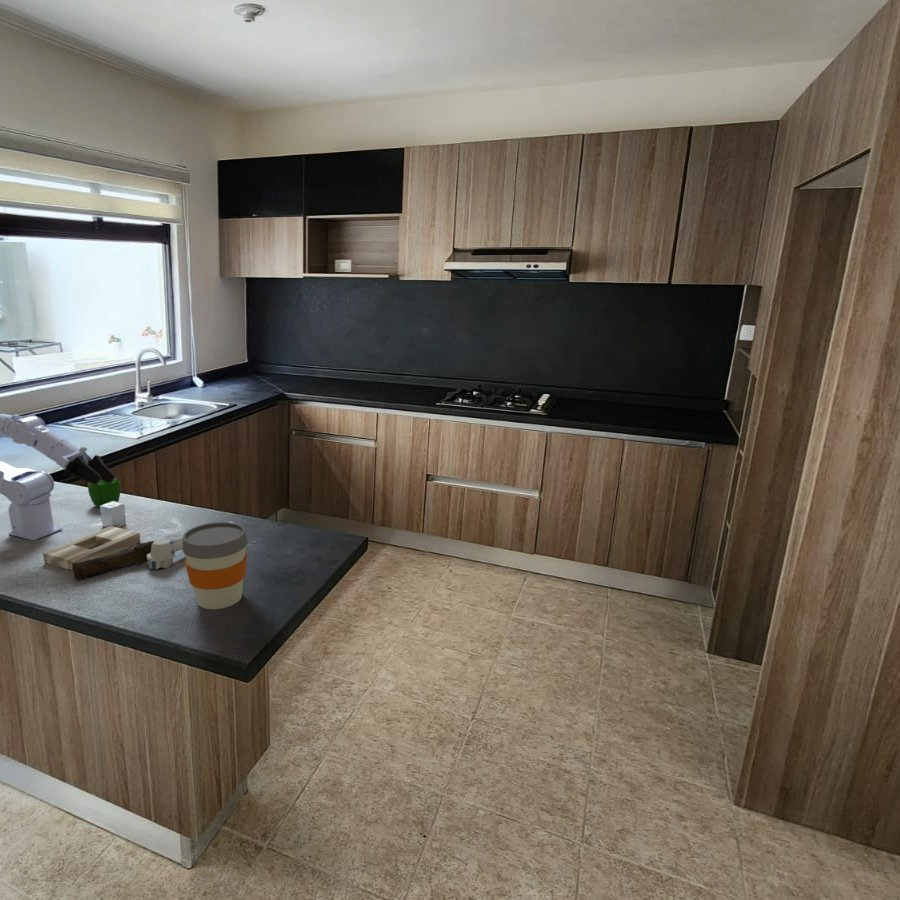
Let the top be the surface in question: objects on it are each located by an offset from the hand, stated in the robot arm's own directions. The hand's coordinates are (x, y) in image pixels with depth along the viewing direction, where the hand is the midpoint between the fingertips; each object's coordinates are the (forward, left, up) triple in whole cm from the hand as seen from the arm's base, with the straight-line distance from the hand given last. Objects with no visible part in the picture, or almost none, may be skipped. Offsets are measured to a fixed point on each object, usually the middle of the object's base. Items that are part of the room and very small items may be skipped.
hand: (105, 480), depth 150 cm
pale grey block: (-7, +6, -16) cm, 18 cm away
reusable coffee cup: (+46, -13, -16) cm, 51 cm away
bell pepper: (-22, +16, -16) cm, 31 cm away
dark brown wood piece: (+15, -11, -16) cm, 25 cm away
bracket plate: (+3, -8, -16) cm, 18 cm away
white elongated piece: (+24, +3, -16) cm, 29 cm away
